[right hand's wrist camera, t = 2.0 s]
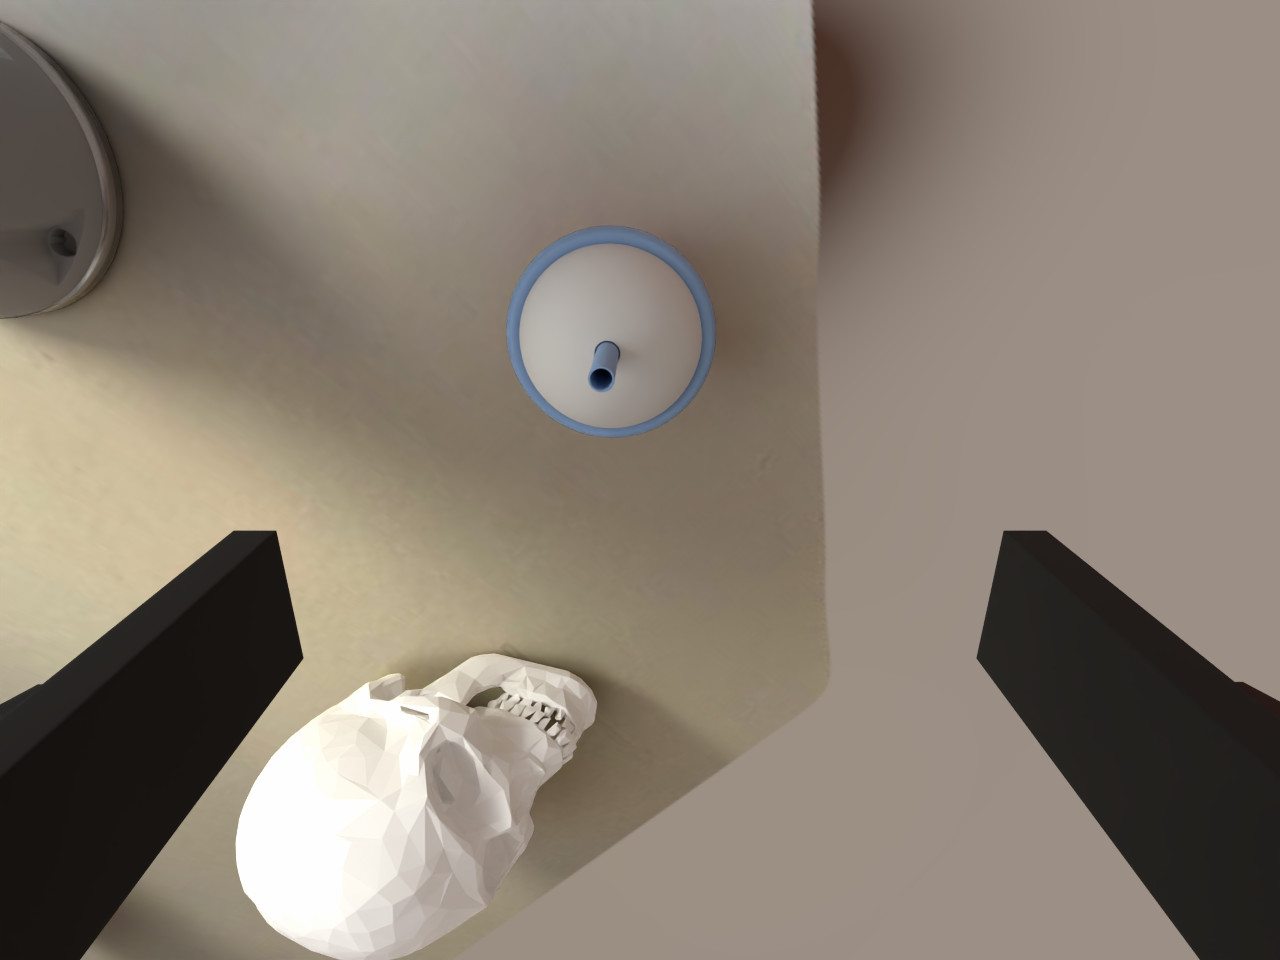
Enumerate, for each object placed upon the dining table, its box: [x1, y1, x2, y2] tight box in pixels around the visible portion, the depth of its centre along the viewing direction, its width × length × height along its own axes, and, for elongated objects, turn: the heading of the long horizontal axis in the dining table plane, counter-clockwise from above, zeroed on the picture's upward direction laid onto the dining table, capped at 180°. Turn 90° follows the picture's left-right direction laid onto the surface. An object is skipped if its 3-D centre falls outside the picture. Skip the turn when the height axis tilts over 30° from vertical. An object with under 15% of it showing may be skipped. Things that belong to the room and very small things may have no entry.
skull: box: [236, 653, 597, 960], centre depth 43 cm, size 13×22×16 cm, turn 112°
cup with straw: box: [507, 226, 716, 438], centre depth 31 cm, size 9×9×18 cm
